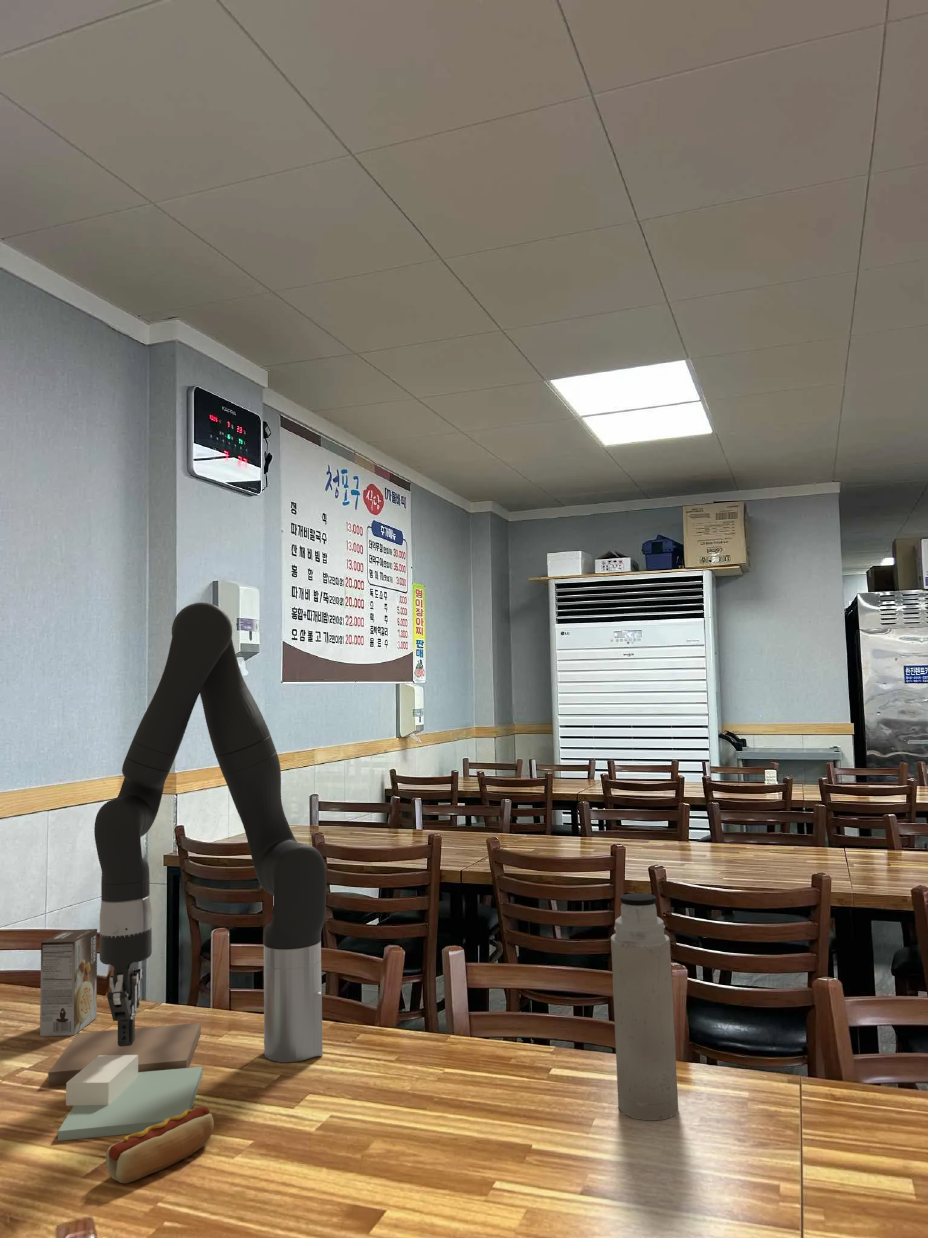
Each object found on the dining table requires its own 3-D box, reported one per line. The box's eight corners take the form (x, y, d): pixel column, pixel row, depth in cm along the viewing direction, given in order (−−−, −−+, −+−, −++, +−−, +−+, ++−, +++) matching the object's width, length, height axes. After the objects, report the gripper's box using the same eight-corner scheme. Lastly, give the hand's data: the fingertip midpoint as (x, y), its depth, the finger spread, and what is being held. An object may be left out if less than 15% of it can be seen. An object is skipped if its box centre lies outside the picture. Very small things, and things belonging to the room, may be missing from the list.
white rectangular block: (138, 1076, 134) (138, 1055, 134) (108, 1105, 124) (108, 1082, 124) (98, 1076, 134) (99, 1055, 135) (66, 1105, 124) (66, 1083, 125)
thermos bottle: (626, 1091, 127) (617, 888, 129) (683, 1100, 123) (672, 891, 126) (611, 1115, 119) (601, 899, 122) (671, 1125, 116) (660, 903, 119)
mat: (202, 1075, 137) (202, 1066, 137) (185, 1128, 119) (185, 1118, 119) (92, 1085, 134) (92, 1076, 134) (57, 1141, 117) (58, 1131, 117)
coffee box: (63, 1019, 165) (64, 929, 166) (97, 1018, 164) (98, 928, 166) (38, 1037, 155) (40, 941, 157) (74, 1036, 155) (76, 940, 157)
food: (123, 1196, 103) (124, 1150, 103) (97, 1182, 106) (97, 1138, 107) (222, 1147, 114) (222, 1106, 115) (195, 1136, 117) (195, 1096, 118)
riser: (200, 1035, 154) (200, 1023, 154) (186, 1074, 137) (186, 1060, 138) (77, 1045, 151) (77, 1033, 151) (47, 1086, 134) (48, 1072, 134)
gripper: (142, 936, 132) (142, 1059, 131) (159, 916, 145) (160, 1027, 144) (88, 940, 131) (88, 1064, 129) (110, 919, 144) (111, 1031, 143)
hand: (126, 1044), depth 137 cm, fingers closed
